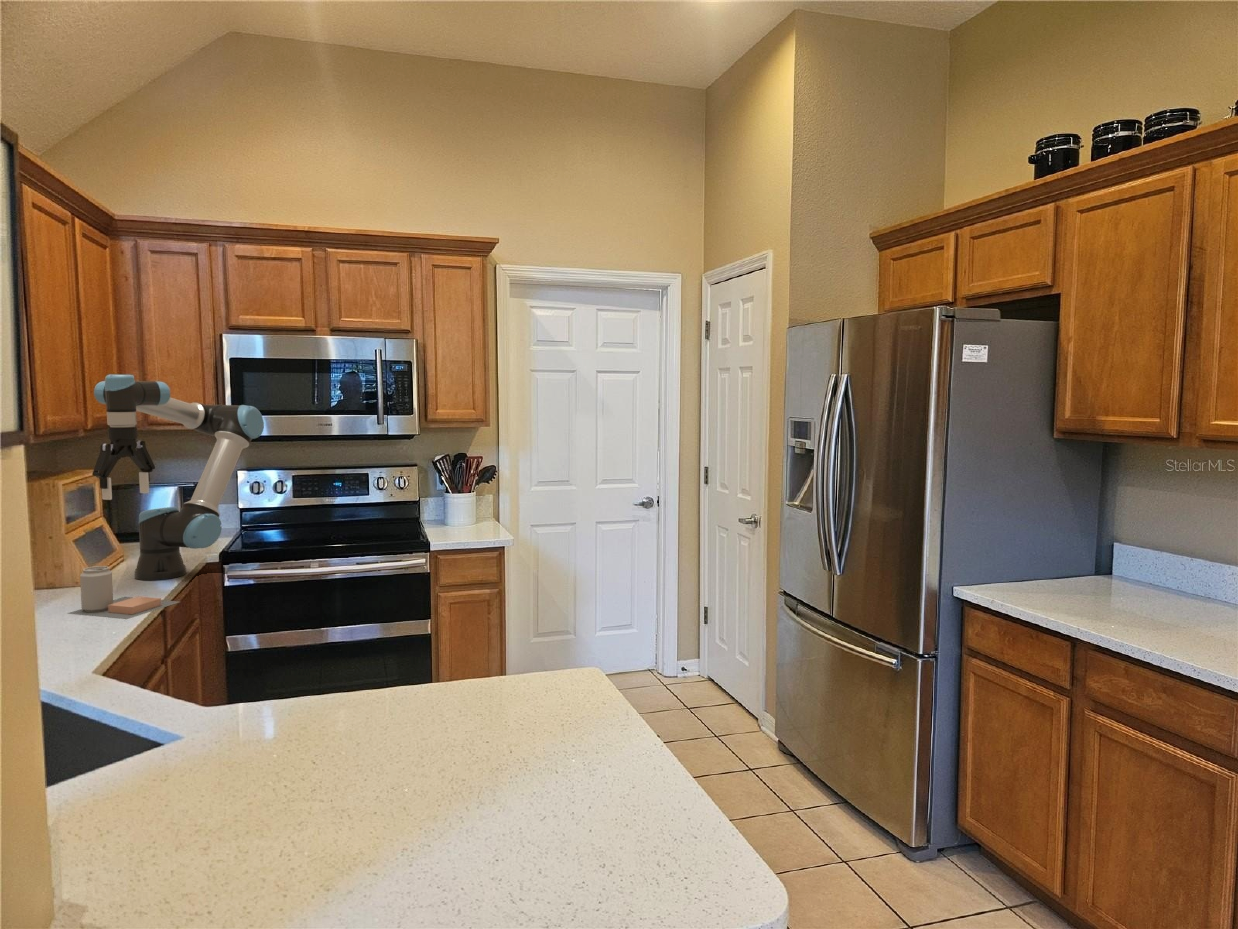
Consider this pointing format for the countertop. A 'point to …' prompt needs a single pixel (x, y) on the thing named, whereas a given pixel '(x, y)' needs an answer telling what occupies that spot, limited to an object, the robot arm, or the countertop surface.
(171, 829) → the countertop surface
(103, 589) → the can
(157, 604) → the tile
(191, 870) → the countertop surface
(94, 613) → the mat
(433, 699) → the countertop surface
